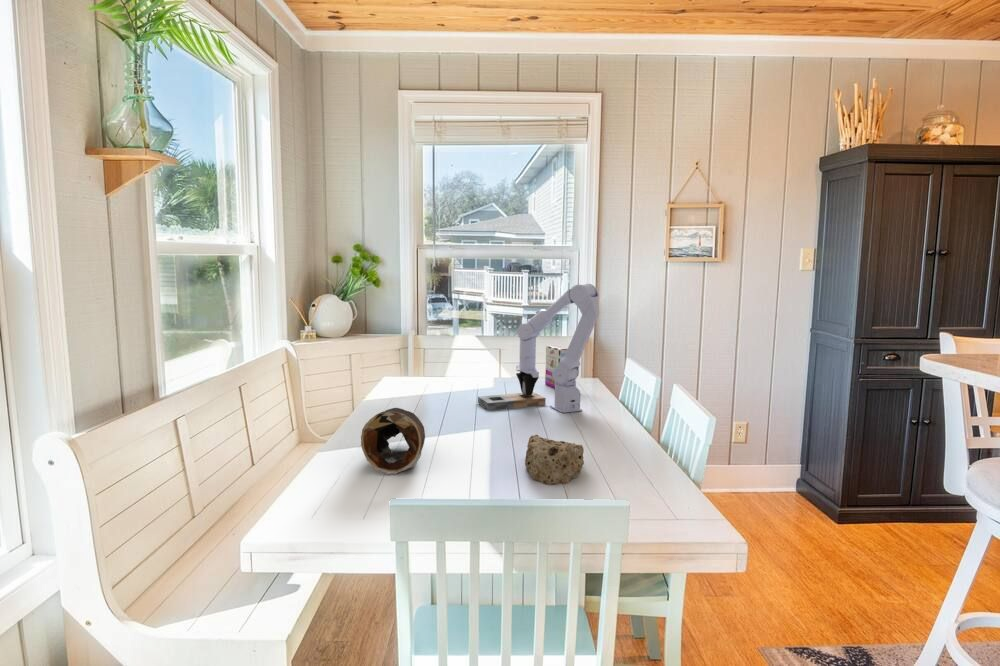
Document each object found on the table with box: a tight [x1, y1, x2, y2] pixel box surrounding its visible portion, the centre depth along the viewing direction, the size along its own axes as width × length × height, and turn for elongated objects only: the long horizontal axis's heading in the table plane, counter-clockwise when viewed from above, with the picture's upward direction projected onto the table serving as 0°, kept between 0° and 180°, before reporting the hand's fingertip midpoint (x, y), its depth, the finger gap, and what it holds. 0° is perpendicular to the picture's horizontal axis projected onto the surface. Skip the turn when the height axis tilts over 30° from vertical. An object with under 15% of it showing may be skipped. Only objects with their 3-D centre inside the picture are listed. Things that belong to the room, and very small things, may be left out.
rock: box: [524, 434, 585, 485], centre depth 148 cm, size 21×14×10 cm
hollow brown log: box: [360, 407, 426, 475], centre depth 155 cm, size 15×15×25 cm
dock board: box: [477, 391, 546, 411], centre depth 213 cm, size 10×22×2 cm, turn 113°
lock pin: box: [521, 381, 531, 398], centre depth 215 cm, size 3×3×8 cm
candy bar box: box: [544, 345, 568, 389], centre depth 242 cm, size 11×5×16 cm, turn 25°
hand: (526, 393), depth 215 cm, fingers closed on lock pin, 3 cm apart
